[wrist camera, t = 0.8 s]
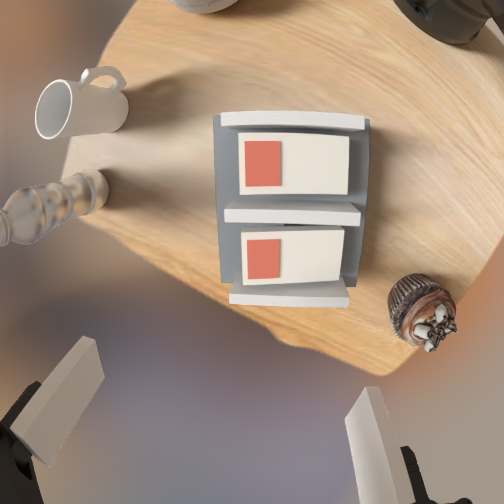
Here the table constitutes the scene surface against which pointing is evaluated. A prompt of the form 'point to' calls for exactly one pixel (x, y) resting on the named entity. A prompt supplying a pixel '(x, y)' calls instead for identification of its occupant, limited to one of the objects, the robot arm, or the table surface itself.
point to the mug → (82, 106)
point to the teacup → (202, 5)
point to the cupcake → (421, 311)
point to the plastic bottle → (51, 206)
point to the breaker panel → (289, 205)
